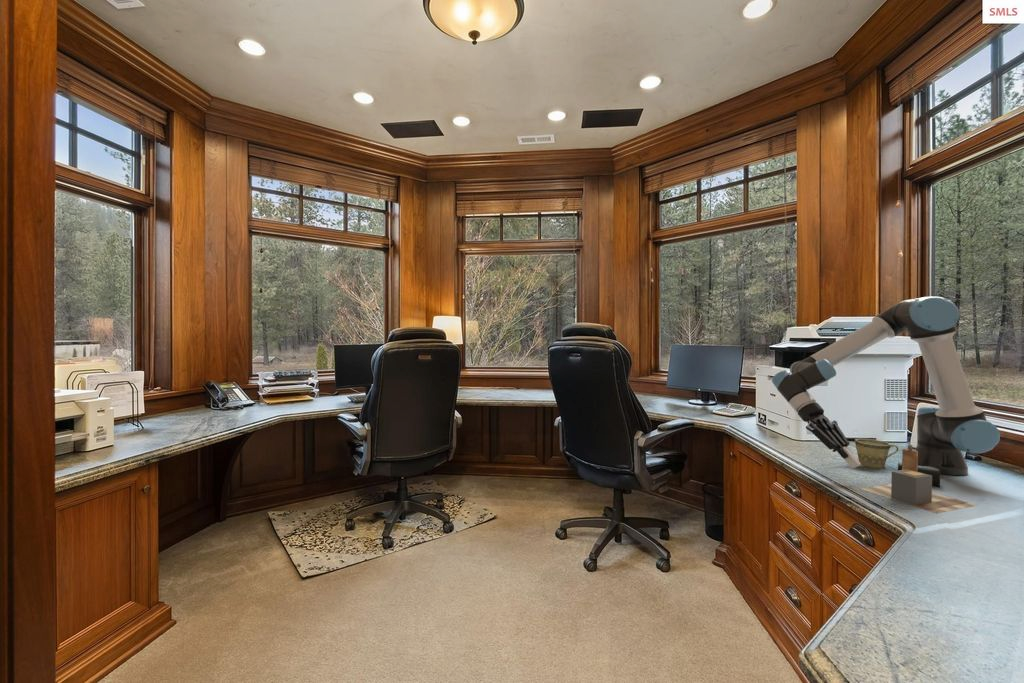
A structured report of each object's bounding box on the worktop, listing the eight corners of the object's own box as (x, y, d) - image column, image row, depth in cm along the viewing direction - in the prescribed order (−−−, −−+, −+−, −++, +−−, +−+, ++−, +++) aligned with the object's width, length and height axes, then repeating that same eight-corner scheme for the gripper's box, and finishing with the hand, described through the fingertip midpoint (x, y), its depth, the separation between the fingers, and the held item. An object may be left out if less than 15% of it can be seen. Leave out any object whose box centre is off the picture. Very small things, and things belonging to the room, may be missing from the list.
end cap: (897, 484, 141) (897, 464, 141) (898, 479, 146) (898, 459, 146) (940, 492, 134) (940, 471, 134) (939, 486, 139) (939, 466, 139)
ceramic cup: (862, 471, 155) (862, 444, 154) (849, 463, 164) (850, 437, 164) (905, 474, 151) (906, 446, 151) (890, 466, 160) (890, 440, 160)
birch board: (898, 486, 139) (898, 482, 139) (976, 509, 121) (976, 504, 121) (860, 492, 133) (860, 488, 133) (936, 517, 115) (936, 512, 115)
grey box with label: (906, 495, 128) (907, 468, 128) (931, 502, 122) (932, 474, 122) (891, 497, 126) (891, 470, 126) (915, 505, 120) (916, 477, 120)
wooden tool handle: (906, 485, 137) (907, 443, 136) (919, 489, 133) (920, 446, 133) (898, 486, 136) (899, 444, 135) (912, 490, 132) (913, 447, 132)
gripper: (812, 412, 158) (861, 469, 143) (786, 414, 155) (833, 474, 139) (826, 400, 153) (879, 458, 138) (800, 402, 149) (851, 462, 134)
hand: (856, 466), depth 138 cm, fingers closed
